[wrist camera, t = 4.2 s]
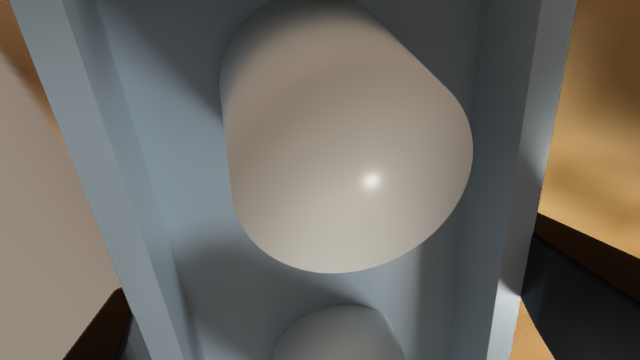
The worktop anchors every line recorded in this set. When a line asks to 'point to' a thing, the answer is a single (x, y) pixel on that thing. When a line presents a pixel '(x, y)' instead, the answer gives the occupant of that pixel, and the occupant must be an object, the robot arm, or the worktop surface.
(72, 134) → the tray
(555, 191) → the worktop surface
